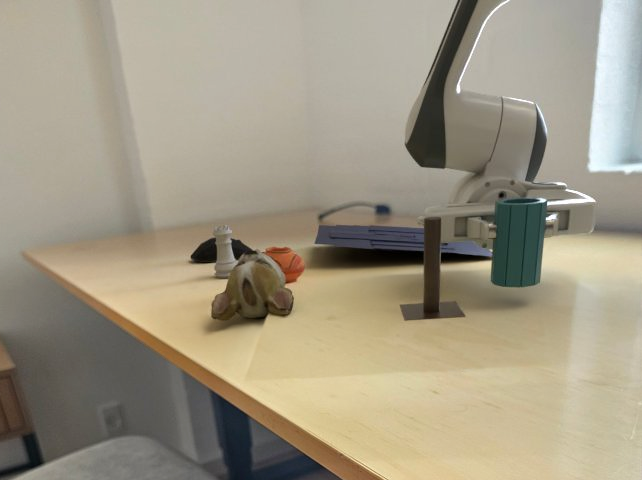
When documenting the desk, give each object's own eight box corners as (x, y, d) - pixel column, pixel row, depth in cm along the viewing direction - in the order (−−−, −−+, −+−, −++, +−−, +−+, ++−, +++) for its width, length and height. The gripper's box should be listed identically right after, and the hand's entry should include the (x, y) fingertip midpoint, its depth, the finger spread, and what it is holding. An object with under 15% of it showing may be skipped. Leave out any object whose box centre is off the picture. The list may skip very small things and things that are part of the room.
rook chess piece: (225, 272, 114) (219, 224, 110) (246, 273, 112) (240, 224, 108) (209, 278, 111) (202, 228, 107) (230, 279, 109) (224, 229, 105)
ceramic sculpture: (294, 234, 90) (287, 263, 77) (300, 296, 94) (294, 333, 81) (217, 240, 90) (198, 270, 78) (227, 301, 95) (210, 339, 82)
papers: (318, 237, 130) (319, 218, 129) (470, 246, 129) (473, 227, 128) (312, 263, 109) (314, 240, 107) (494, 273, 108) (498, 250, 106)
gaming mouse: (269, 257, 123) (267, 235, 122) (190, 264, 122) (187, 242, 120) (267, 251, 129) (265, 230, 127) (191, 258, 128) (188, 237, 126)
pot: (260, 280, 104) (266, 237, 101) (307, 292, 103) (314, 249, 100) (241, 291, 98) (247, 245, 94) (290, 304, 96) (298, 258, 93)
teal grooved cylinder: (532, 275, 80) (539, 196, 75) (544, 286, 75) (553, 202, 70) (486, 277, 80) (491, 199, 76) (496, 288, 75) (502, 205, 71)
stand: (456, 312, 82) (459, 211, 76) (465, 329, 76) (469, 220, 70) (399, 316, 82) (398, 215, 77) (404, 332, 76) (404, 225, 71)
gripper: (415, 193, 85) (428, 206, 73) (576, 181, 84) (617, 194, 72) (415, 242, 88) (427, 264, 76) (570, 232, 87) (609, 253, 74)
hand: (521, 230), depth 74 cm, fingers closed on teal grooved cylinder, 5 cm apart
